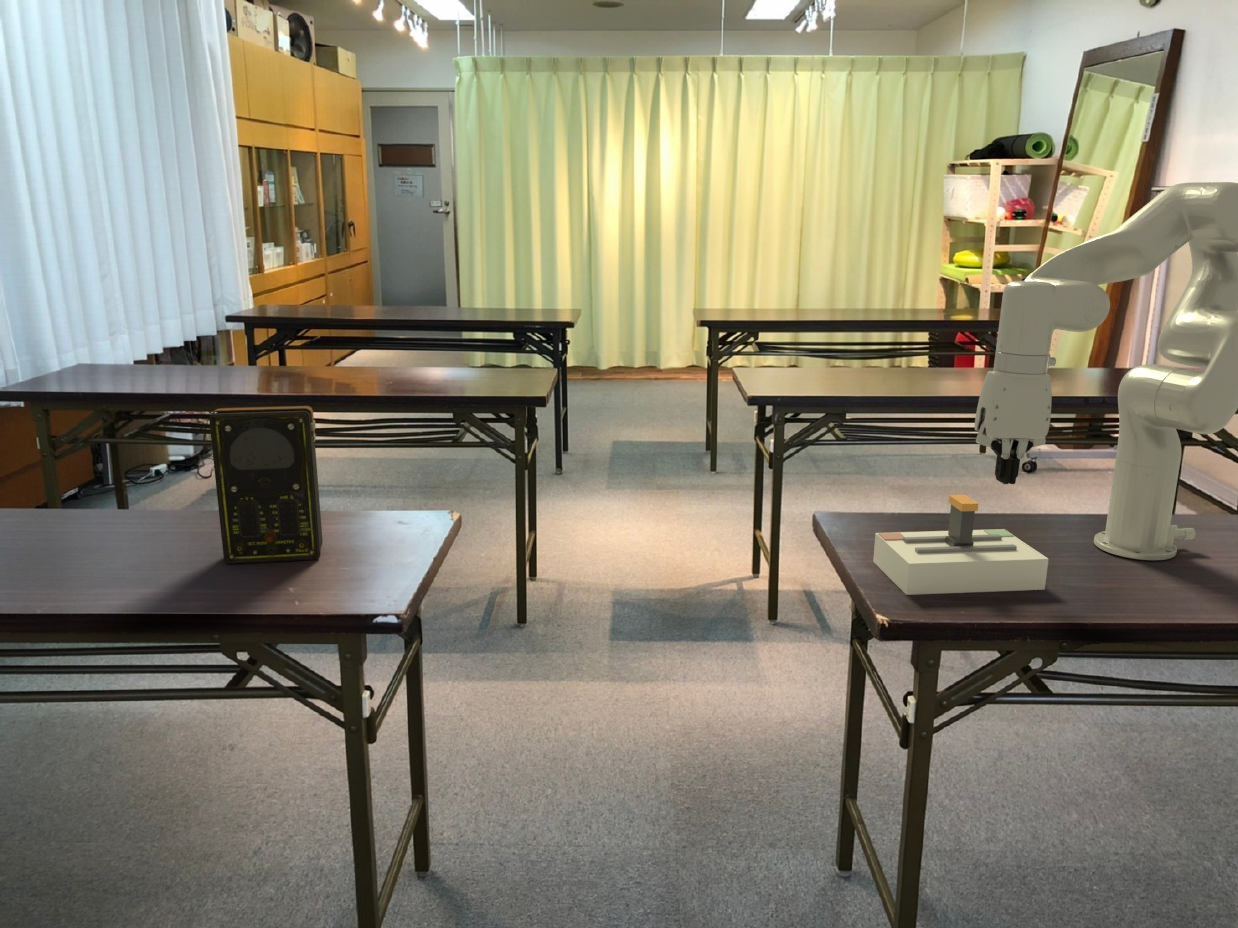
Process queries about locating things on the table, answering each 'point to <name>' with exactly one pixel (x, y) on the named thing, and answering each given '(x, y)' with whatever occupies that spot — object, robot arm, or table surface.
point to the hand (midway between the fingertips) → (1005, 481)
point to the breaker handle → (961, 520)
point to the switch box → (959, 562)
